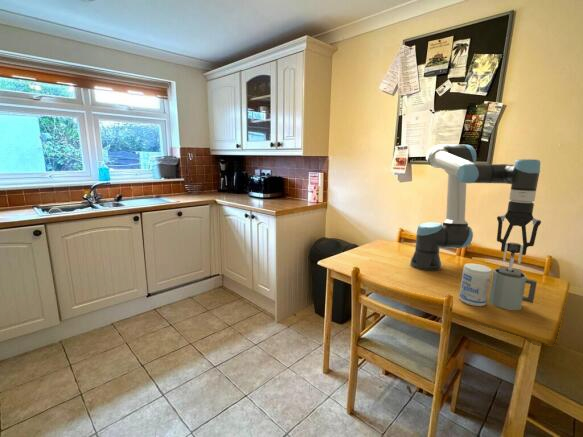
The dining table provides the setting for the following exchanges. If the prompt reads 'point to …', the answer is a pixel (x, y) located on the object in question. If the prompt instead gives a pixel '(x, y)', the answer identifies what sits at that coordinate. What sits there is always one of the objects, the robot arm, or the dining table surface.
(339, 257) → the dining table surface
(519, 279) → the press carafe
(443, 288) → the dining table surface
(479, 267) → the supplement tub
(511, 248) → the plunger
